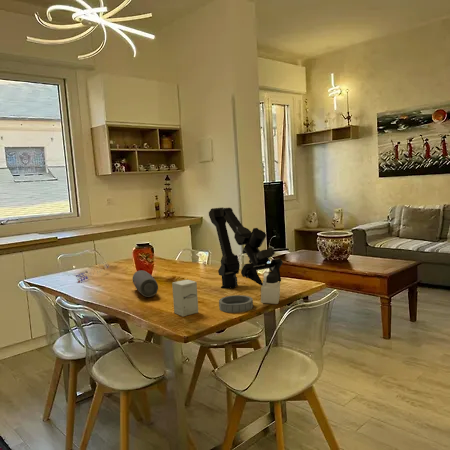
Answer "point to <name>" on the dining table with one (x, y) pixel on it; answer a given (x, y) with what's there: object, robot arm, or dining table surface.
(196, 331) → the dining table surface
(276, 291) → the medicine bottle
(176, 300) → the supplement box
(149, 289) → the bluetooth speaker
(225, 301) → the round dish
